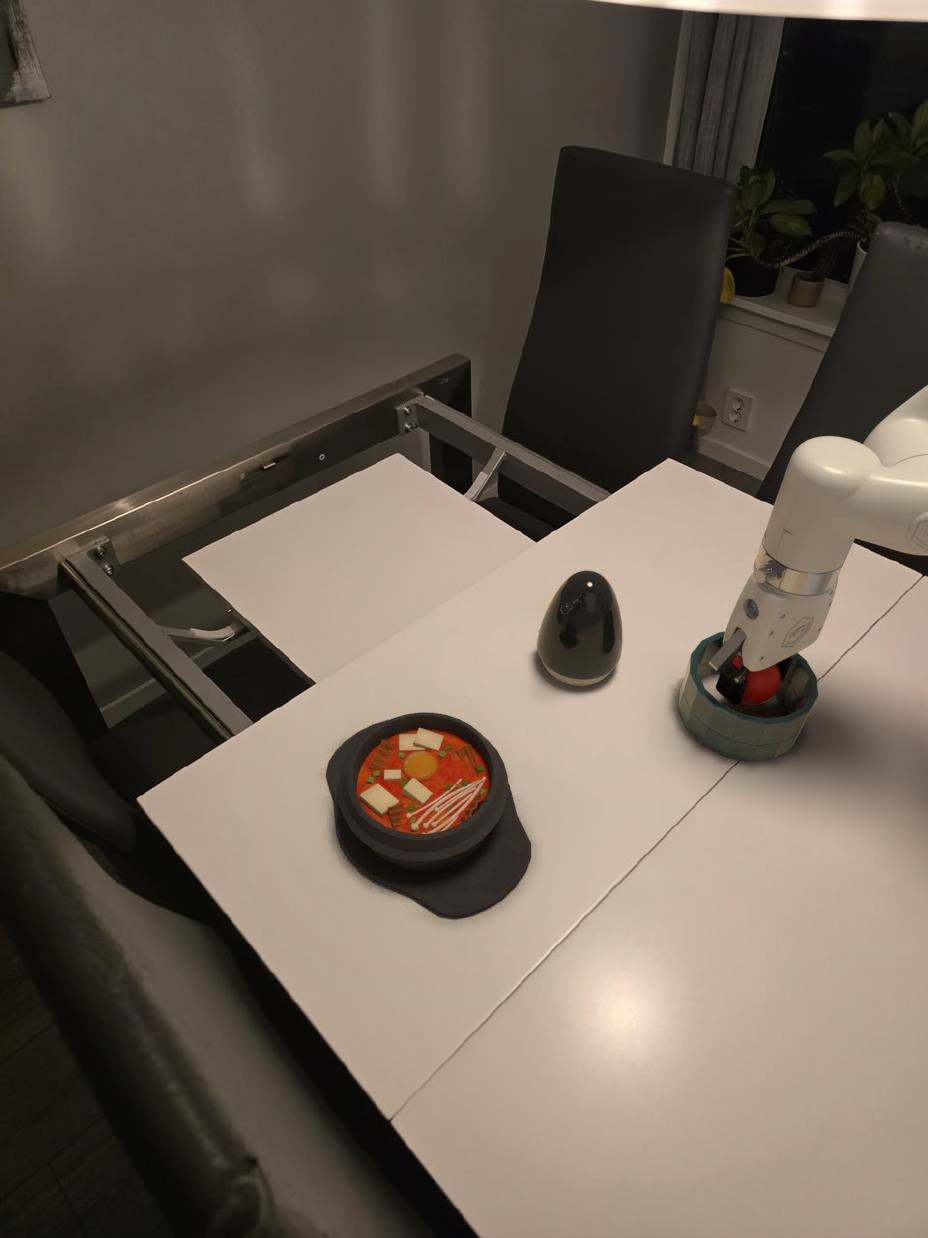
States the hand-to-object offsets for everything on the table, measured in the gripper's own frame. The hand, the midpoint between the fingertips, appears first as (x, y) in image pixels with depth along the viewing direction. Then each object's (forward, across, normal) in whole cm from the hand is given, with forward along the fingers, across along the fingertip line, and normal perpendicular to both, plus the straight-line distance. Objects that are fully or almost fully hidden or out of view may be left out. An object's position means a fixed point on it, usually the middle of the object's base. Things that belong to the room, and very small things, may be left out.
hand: (749, 684), depth 88 cm
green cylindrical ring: (+6, 0, 0) cm, 6 cm away
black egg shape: (+6, -12, +16) cm, 21 cm away
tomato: (-1, 0, 0) cm, 1 cm away
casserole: (+6, -38, +7) cm, 39 cm away
